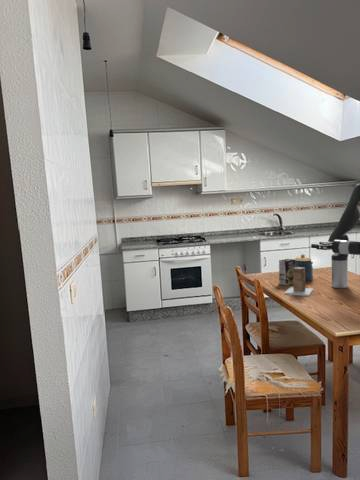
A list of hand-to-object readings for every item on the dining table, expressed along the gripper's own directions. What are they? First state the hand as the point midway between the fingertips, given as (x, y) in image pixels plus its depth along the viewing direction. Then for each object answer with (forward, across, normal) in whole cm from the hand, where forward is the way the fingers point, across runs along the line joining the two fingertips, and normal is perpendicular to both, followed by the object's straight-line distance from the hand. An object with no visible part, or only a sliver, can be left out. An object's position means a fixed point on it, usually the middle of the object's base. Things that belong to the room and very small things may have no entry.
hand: (315, 244), depth 215 cm
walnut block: (+11, 0, +29) cm, 31 cm away
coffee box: (+29, -14, +30) cm, 44 cm away
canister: (+27, -30, +30) cm, 51 cm away
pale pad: (+11, 0, +30) cm, 32 cm away
